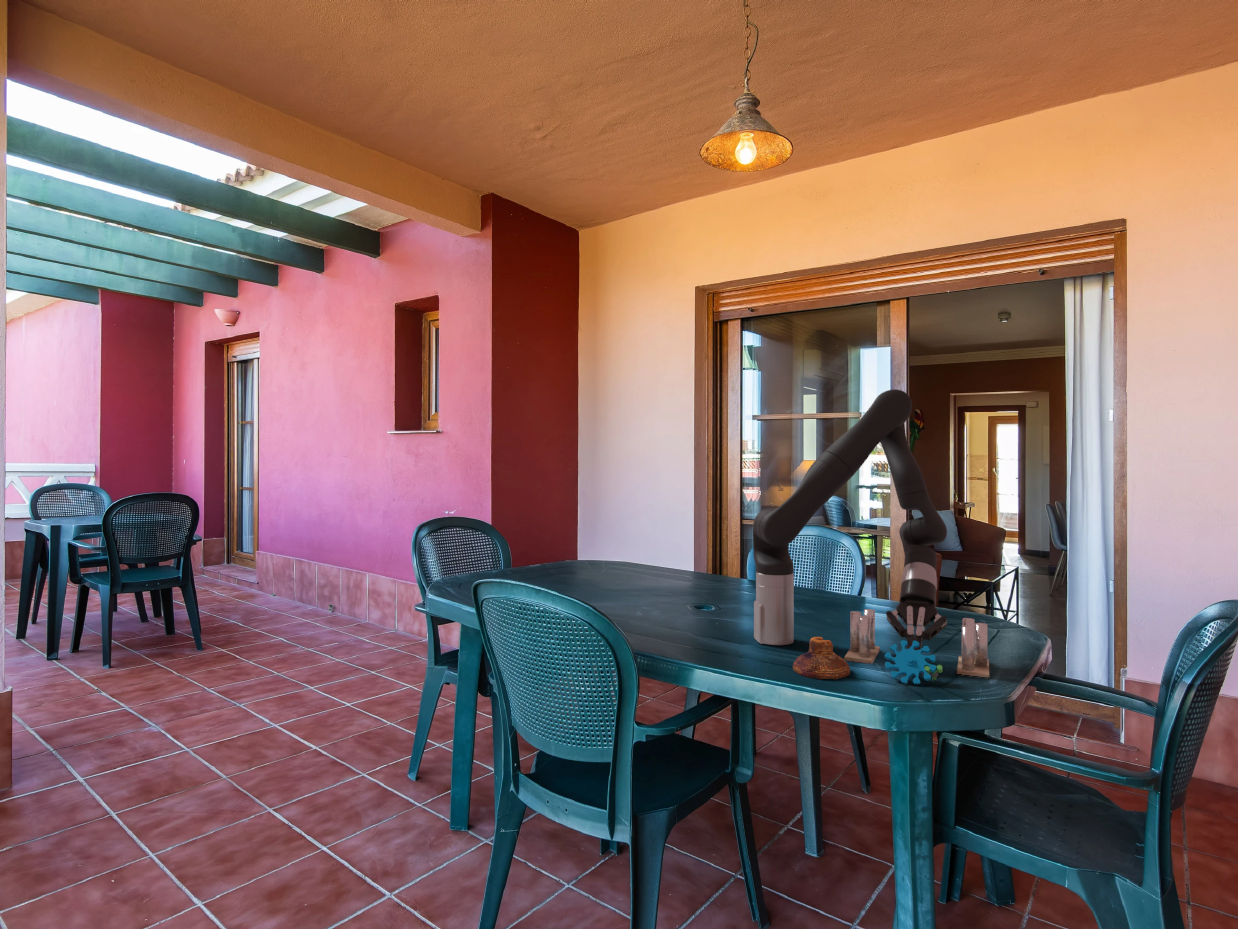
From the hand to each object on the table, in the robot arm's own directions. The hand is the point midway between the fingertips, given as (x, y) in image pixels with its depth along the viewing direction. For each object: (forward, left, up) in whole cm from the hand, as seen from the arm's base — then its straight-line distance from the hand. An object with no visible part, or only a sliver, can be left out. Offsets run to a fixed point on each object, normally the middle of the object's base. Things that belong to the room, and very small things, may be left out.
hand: (913, 653), depth 148 cm
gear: (-3, -5, -4) cm, 7 cm away
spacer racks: (+4, +8, -4) cm, 10 cm away
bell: (-19, +2, -4) cm, 20 cm away
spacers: (+4, +8, -3) cm, 10 cm away
